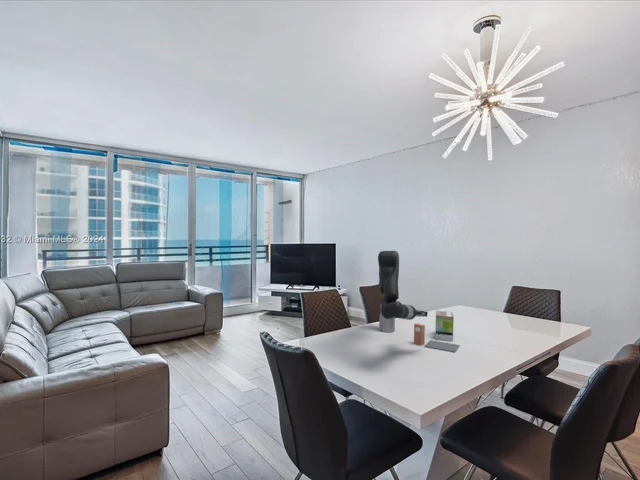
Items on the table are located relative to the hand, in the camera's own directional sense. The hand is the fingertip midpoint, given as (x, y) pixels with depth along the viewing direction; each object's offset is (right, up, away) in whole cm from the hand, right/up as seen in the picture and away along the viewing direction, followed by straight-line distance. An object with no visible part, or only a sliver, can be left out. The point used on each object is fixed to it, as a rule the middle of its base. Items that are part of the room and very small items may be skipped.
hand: (417, 313), depth 186 cm
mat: (+14, -19, +2) cm, 23 cm away
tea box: (+22, -19, +20) cm, 35 cm away
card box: (+2, -19, +6) cm, 20 cm away
